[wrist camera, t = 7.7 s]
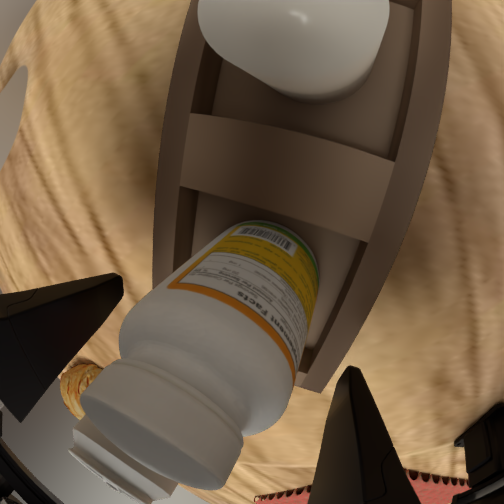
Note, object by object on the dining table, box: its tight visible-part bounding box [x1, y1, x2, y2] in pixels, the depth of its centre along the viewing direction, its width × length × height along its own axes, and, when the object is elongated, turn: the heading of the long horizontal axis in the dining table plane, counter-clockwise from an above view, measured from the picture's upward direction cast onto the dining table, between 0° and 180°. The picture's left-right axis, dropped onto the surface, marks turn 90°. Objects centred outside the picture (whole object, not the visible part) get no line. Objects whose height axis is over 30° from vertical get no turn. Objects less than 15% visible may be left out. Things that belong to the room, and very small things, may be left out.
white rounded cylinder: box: [198, 0, 389, 104], centre depth 6 cm, size 5×5×5 cm
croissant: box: [60, 364, 103, 420], centre depth 27 cm, size 21×10×8 cm, turn 110°
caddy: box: [152, 0, 452, 393], centre depth 11 cm, size 10×20×3 cm, turn 169°
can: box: [68, 414, 178, 504], centre depth 15 cm, size 8×8×12 cm
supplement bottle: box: [80, 220, 319, 490], centre depth 9 cm, size 5×5×10 cm
